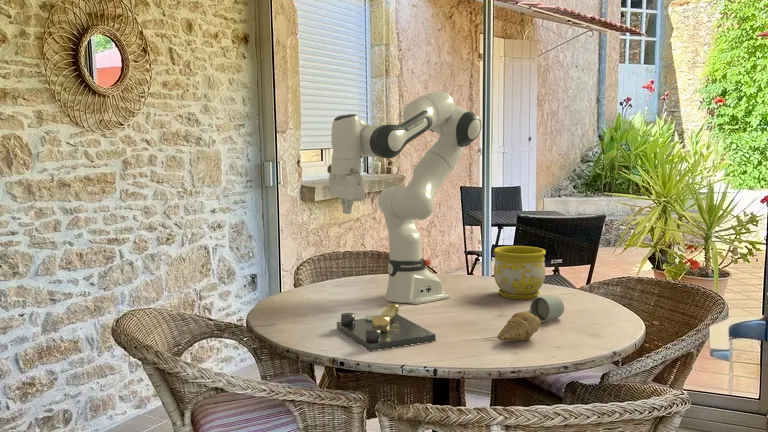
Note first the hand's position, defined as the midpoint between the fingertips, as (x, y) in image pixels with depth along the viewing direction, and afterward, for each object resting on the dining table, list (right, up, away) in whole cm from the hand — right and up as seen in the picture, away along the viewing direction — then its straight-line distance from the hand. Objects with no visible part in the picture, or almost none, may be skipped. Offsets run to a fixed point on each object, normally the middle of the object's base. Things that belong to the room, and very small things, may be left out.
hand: (347, 213), depth 208 cm
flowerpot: (+59, -29, +33) cm, 74 cm away
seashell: (+48, -36, -20) cm, 63 cm away
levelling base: (+11, -35, -13) cm, 39 cm away
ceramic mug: (+61, -33, +3) cm, 69 cm away
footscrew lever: (+12, -32, -9) cm, 35 cm away
